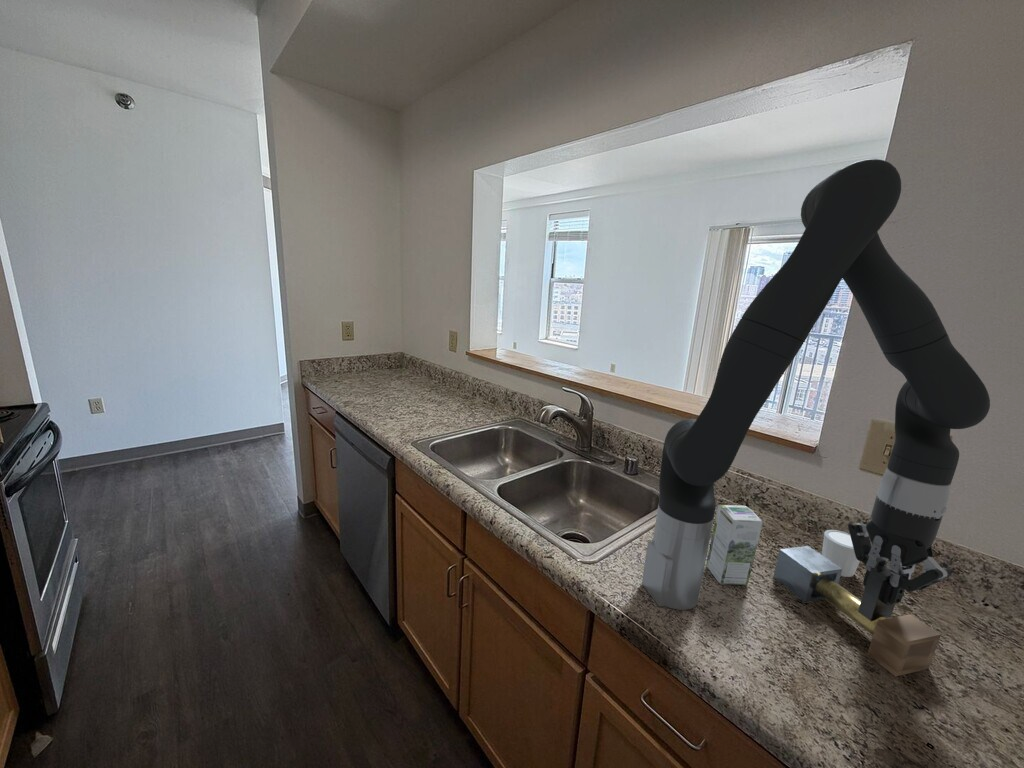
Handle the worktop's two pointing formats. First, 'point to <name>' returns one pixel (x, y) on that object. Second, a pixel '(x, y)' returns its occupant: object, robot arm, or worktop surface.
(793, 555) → the block
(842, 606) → the slide bolt
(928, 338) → the robot arm
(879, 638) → the socket block
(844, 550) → the shot glass
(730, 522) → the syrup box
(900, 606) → the worktop surface
